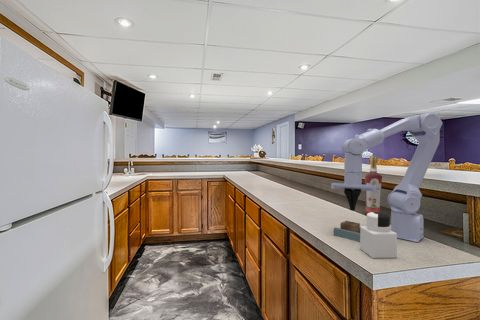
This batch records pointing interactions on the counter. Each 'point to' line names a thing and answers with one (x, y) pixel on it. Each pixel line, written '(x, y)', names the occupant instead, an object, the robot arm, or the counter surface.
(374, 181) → the liquor
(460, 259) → the counter surface
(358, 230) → the walnut block
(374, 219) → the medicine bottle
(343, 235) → the chute
